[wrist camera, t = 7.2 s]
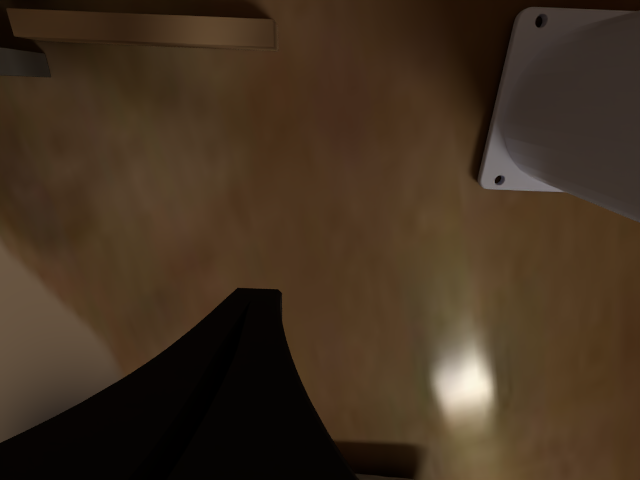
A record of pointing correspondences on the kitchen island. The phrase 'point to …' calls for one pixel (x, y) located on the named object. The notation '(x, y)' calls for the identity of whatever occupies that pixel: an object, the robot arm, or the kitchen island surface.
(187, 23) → the pitch goal
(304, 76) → the kitchen island surface
